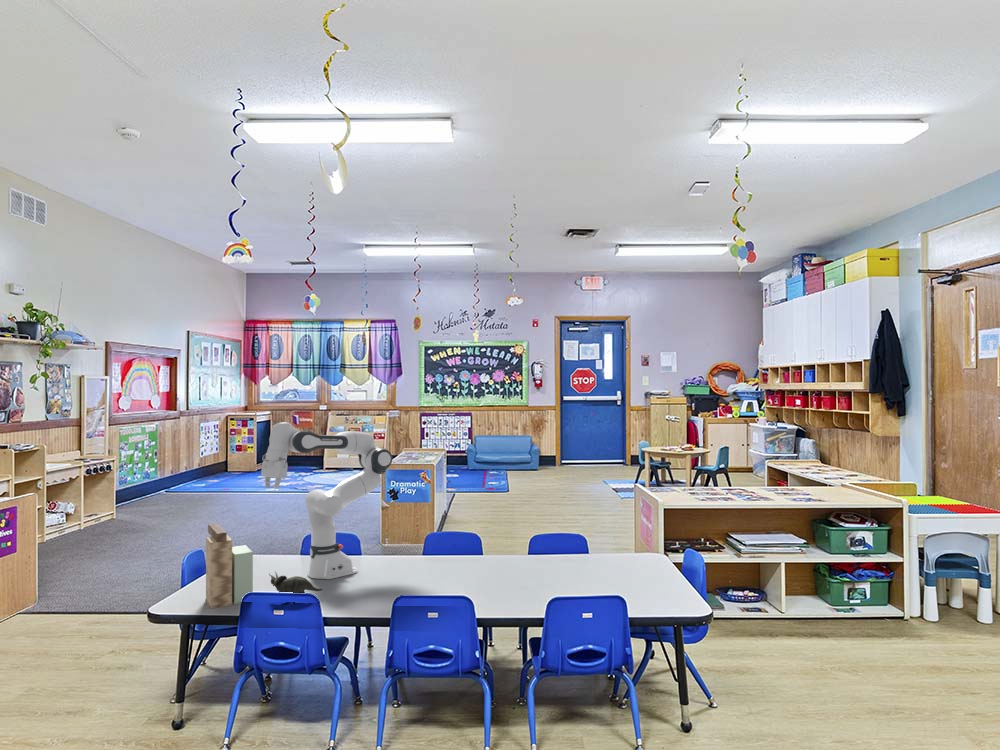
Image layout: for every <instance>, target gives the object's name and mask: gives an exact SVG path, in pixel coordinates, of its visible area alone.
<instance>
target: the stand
mask: <svg viewBox="0 0 1000 750" xmlns="http://www.w3.org/2000/svg"><path fill="white" fill-rule="evenodd" d="M232 547H233V540H232V538H231V537H230V536H229V535H228V534H227V541H224V542H216V540H215V539H214V538H213V537H212V536H207V537H205V602H206V604H207V606H208V608H209V609H211V610H212V609H216V608H220V607H227V606H232V605H234V603H233V602H232Z"/></svg>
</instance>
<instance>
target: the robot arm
mask: <svg viewBox="0 0 1000 750" xmlns="http://www.w3.org/2000/svg"><path fill="white" fill-rule="evenodd" d="M270 431H271V432H270V435H269V439H268V440H269V441H268V442H269V445H268V447H267V451H266V453H265V454H264V455H262V459H261V460H262V464H261V471H260V474H261V477H262V478H264V482H265V483H264V488H268V489H270V488H271V479H272V478H274V480H275V481H274V484H273V487H272V488H273V489H276V490H277V489H279V487H280V484H281V482H282V479H283V480H285V479H286V478H287V475H288V462H287V458H288V453H289V451H291V452H293V453H299V454H301V453H302V454H308V453H311V452H313V451H315V450H326V449H327V450H335V452H337V453H340V454H344V455H358V462H359V465H360V467H361V468H363V470H362V471H360V472H359V473H356V474H354V475H352V476H349V477H348V478H346V479H343V480H342V481H340V482H339V483H338V484H337V485H336V486H334V487H333V488H331V489H329V490H325V489H321V488H319V489H312V490H310V491H309V492H307V494H306V496H305V502H304V503H305V505H306V507H307V512H308V517H309V523H310V532H311V533H310V534H311V536H310V538H311V539H310V543H311V544H310V549H309V555H310V556H309V557H310V563H309V568H308V573H307V577H308V578H311V579H317V580H318V579H319V580H321V579H322V580H333V579H337V578H340V577H341V578H342V577H344V576H350V575H354V574H357V573H358V569H357V567H356V566H353V562H352V558H350V556H349V555H347V554H345V553H344V552H343V551H341V550H343V548H344V545H343V544H341V543H338V542H336V540H337V538H336V537H337V534H336V533H337V531H336V524H335V521H334V519H333V518H334V517H335V516H337V515H339V513H341V511H342V509H344V508H345V507H346V506H348V505H349V504H351V503H353V502H354V501H356V500H358V499H361V498H362V497H364V496H366V495H368V494H370V493H371V492H374V491H375V490H376V489H377V488H379V487H380V486H381V483H382V477H381V475H383V474H385V473H386V471H387V469H388V468H390V466H392V463H393V455H392V453H391V451H390V450H388V449H386V448H383V447H381V448H380V447H379V448H378V447H376V445H375V438H374V436H373V435H372V434H371V433H368V432H364V431H358V430H357V431H356V430H355V431H354V430H353V431H352V430H350V431H349V430H347V431H340V432H338V433H336V434H331V435H328V434H327V435H326V434H325V435H324V434H317V433H314V432H313V431H310V430H302V431H301V430H299V429H297V428H296V427H295V426H294V425H292V424H291V422H287V421H285V422H283V421H282V422H276V423H275V424H273V426H272V428H271V430H270Z"/></svg>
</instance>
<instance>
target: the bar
mask: <svg viewBox="0 0 1000 750" xmlns="http://www.w3.org/2000/svg"><path fill="white" fill-rule="evenodd" d="M207 533H208V534H209V535H210V537H213V538H214V539H215V540H216V542H224V541H227V535H228V533H227V531H226V530H225V529H224V528H223V527H221V525H219V523H217V522H213V523H207Z"/></svg>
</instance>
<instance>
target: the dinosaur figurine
mask: <svg viewBox="0 0 1000 750" xmlns="http://www.w3.org/2000/svg"><path fill="white" fill-rule="evenodd" d="M274 573H275V576H274V575H273V574H272V575H271V573H270V572H269V573H268V575H269V577H271V578H270V583H271V585H272V587H275V588H276V591H278V592H279V593H280V592H293V593H299V594H300V593H306V592H305V591H314V592H320V591H323V588H317V587H315V586H314V585H313V584H312V583H311V582H310V581H309V580H308V579H307V578H306V577H303V576H297V575H296V576H291V577H289V578H288V577H287V576H286V575H281V576H279V575H278V573H277V572H276V571H274Z"/></svg>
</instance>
